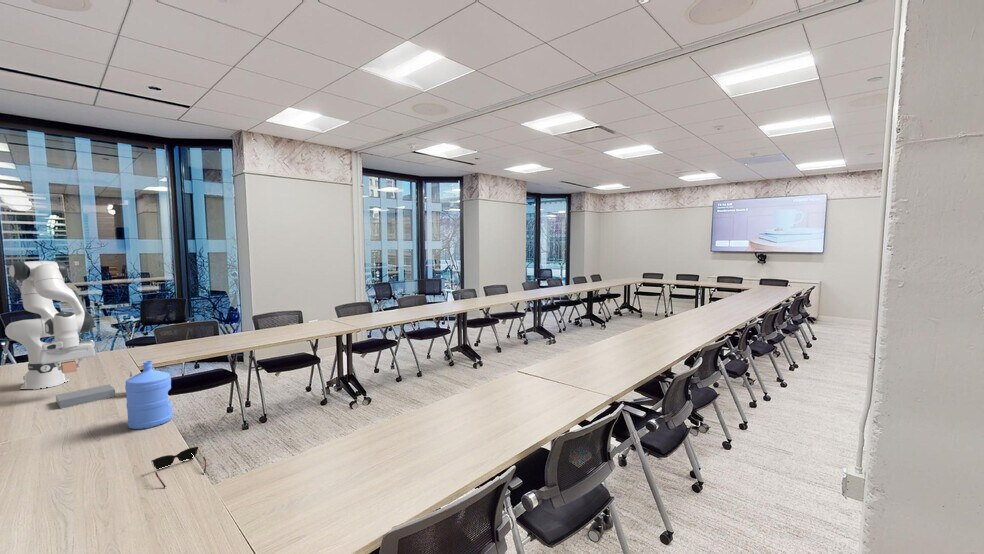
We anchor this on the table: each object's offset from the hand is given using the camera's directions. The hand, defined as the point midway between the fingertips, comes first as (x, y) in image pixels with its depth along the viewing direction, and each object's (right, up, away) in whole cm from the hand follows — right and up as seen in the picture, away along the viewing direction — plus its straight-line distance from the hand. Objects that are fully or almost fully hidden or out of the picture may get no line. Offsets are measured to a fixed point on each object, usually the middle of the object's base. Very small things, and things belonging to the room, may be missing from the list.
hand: (68, 368), depth 210 cm
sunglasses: (+115, -21, -70) cm, 136 cm away
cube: (0, -2, 0) cm, 2 cm away
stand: (+13, -16, -3) cm, 20 cm away
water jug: (+69, -18, -30) cm, 78 cm away
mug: (+31, -15, +5) cm, 35 cm away
